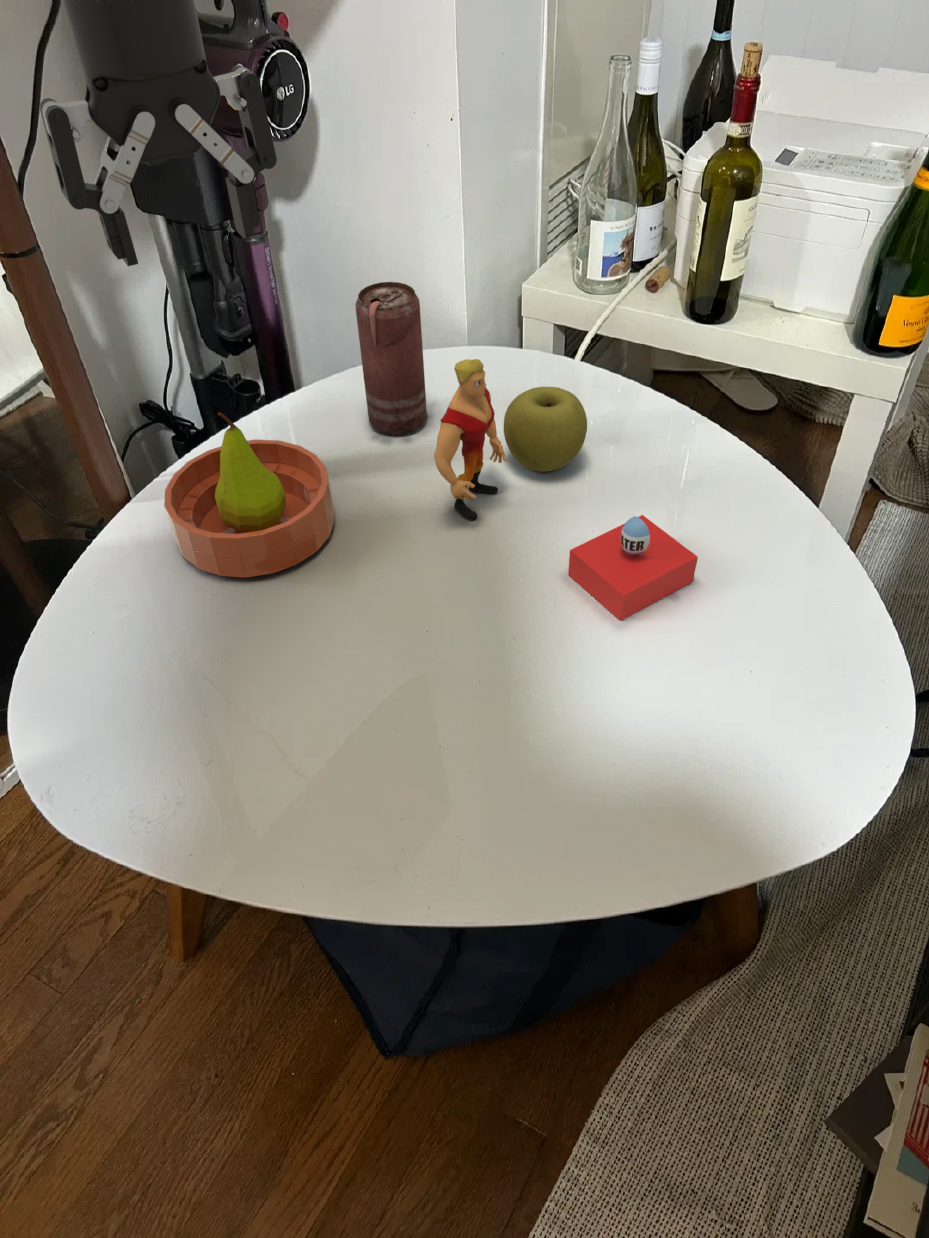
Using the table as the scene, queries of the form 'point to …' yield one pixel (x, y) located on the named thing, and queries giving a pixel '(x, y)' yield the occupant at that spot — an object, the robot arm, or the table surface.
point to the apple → (545, 428)
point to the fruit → (246, 486)
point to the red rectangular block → (632, 566)
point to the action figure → (467, 435)
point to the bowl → (259, 550)
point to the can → (392, 357)
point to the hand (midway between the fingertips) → (189, 247)
